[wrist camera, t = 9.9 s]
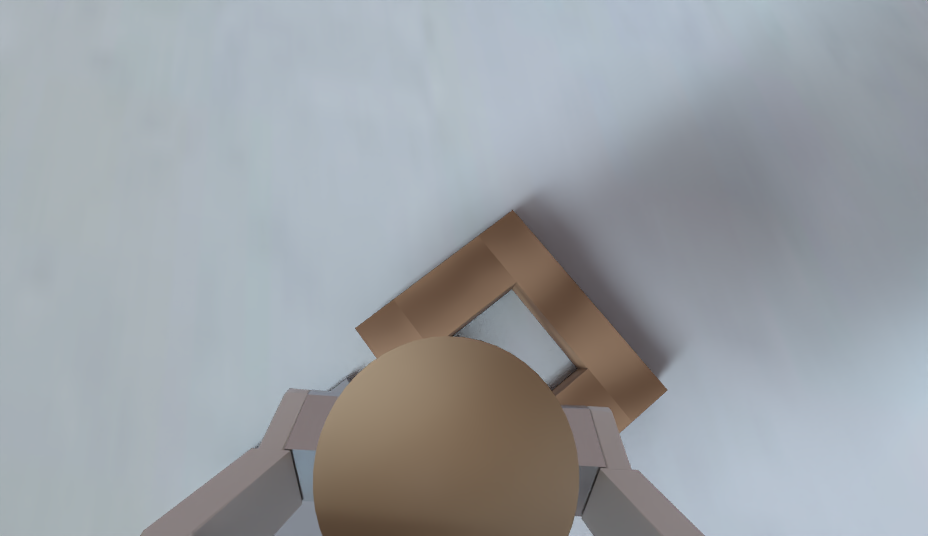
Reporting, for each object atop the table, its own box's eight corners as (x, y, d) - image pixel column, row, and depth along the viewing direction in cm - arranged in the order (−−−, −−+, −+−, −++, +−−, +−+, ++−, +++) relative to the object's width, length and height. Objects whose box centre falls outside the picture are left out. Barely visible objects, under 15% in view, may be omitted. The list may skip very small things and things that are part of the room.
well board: (650, 388, 29) (667, 389, 27) (500, 521, 27) (504, 535, 25) (508, 222, 32) (512, 209, 30) (363, 331, 30) (354, 328, 28)
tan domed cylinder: (539, 431, 15) (633, 494, 7) (435, 519, 14) (418, 694, 7) (460, 327, 16) (470, 287, 8) (358, 406, 15) (260, 445, 7)
